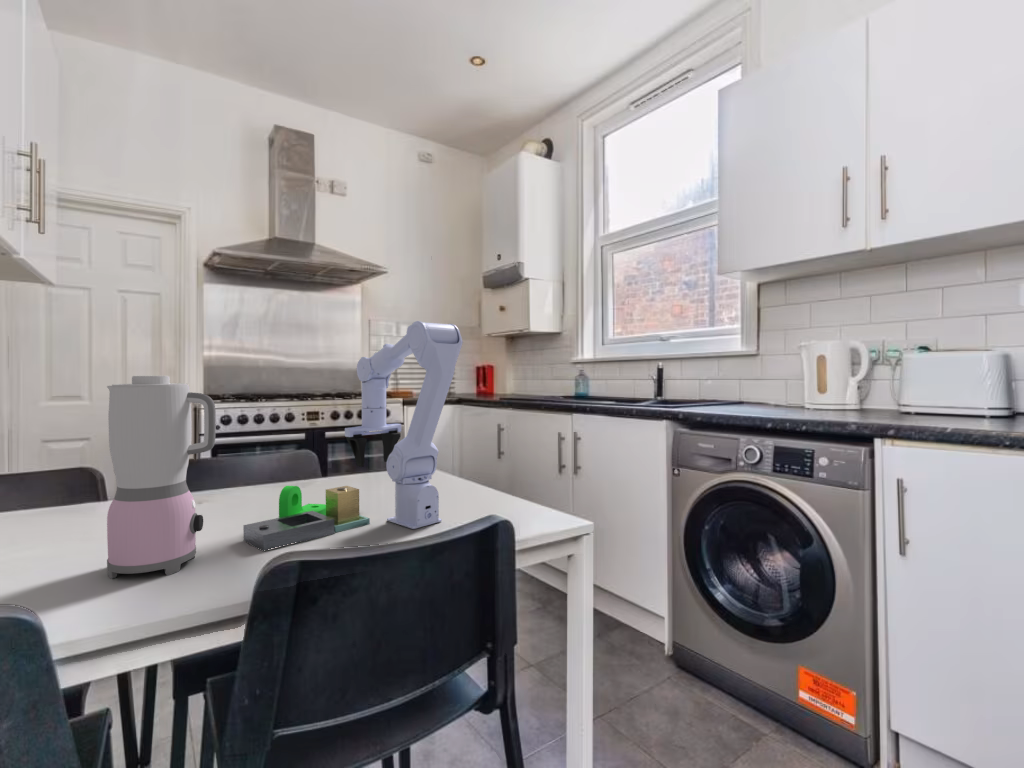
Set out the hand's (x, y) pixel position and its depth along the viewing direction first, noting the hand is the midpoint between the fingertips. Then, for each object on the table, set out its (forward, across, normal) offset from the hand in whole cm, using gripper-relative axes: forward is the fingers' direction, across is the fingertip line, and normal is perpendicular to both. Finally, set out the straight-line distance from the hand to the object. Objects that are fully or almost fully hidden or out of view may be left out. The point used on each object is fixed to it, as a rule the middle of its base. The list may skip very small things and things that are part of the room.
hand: (374, 464), depth 124 cm
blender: (+11, +45, +6) cm, 47 cm away
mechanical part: (+11, +16, -2) cm, 19 cm away
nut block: (+10, +12, +7) cm, 17 cm away
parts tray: (+10, +12, +7) cm, 18 cm away
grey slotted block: (+10, +24, +7) cm, 27 cm away
